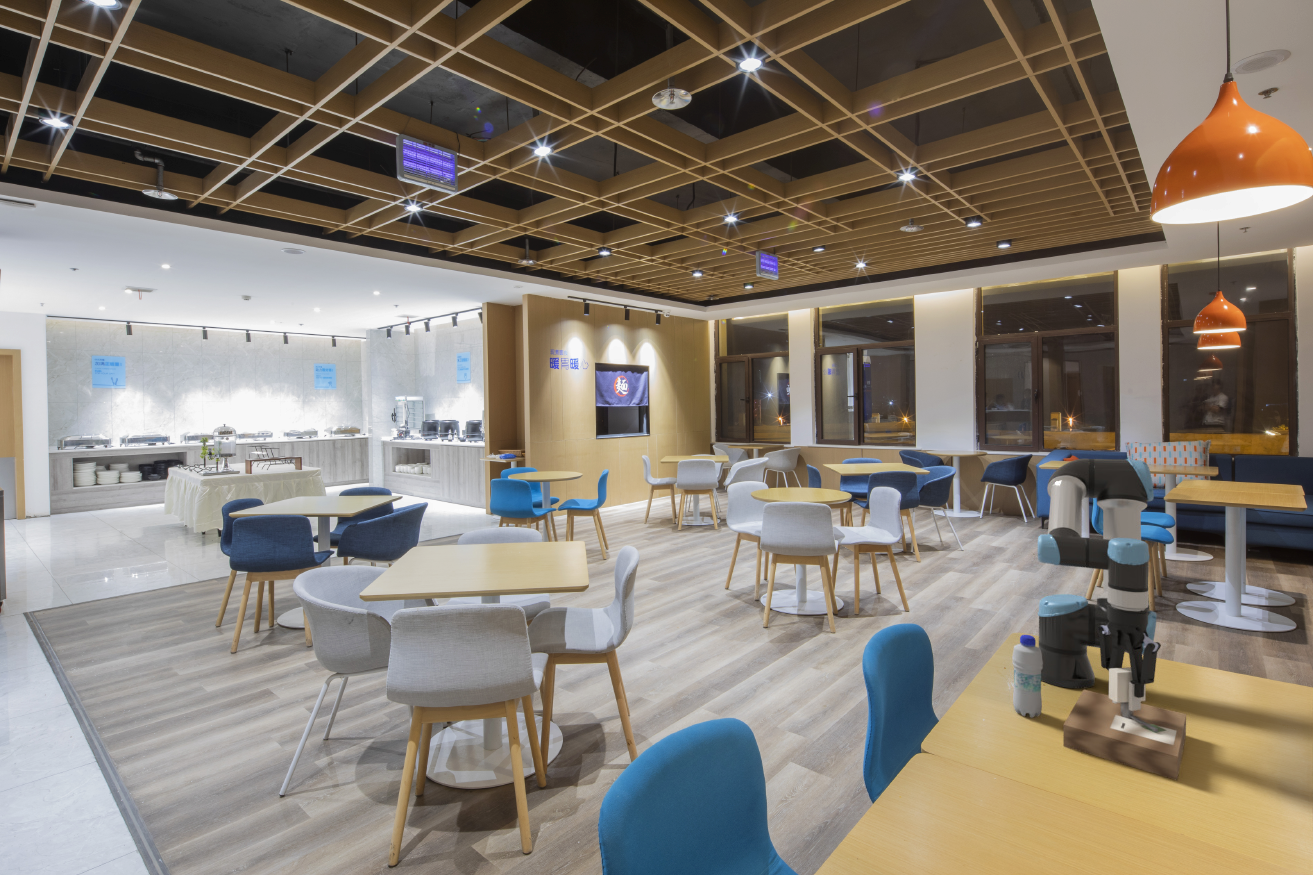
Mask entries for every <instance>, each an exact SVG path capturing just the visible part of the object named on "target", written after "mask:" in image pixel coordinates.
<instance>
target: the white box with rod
mask: <svg viewBox="0 0 1313 875" xmlns="http://www.w3.org/2000/svg"><path fill="white" fill-rule="evenodd" d="M1130 681H1132V673H1131V666H1129V667H1122V668H1111V669H1109V671H1108V695H1109V698H1110V699H1112V700H1113V701H1115V702H1117V703H1120V702H1121V707H1120V714H1121V715H1122V716H1124V717H1127V718H1132V719H1134V720H1136V721H1137V722H1139V723H1141V724H1143V725H1144V726H1146V727H1148V728H1150V729H1151V730H1153V731H1155V732H1157V731H1158V729H1157V728H1155V727H1153V726H1151V725H1150V724H1148V723H1146V722H1144V721H1143V720H1141V719H1139V718H1137V717H1136V716H1134V715H1133V711H1131V710H1129V682H1130ZM1146 685H1147V684H1144V696H1143V697H1141V702H1146V689H1147V688H1146Z"/></svg>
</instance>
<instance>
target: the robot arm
mask: <svg viewBox="0 0 1313 875" xmlns="http://www.w3.org/2000/svg"><path fill="white" fill-rule="evenodd" d="M1153 488H1154V485H1153V479H1152V474H1151V470H1150V467H1149V465H1148V464H1147V462H1145V461H1144V460H1137V459H1128V458H1124V459H1114V458H1113V459H1111V458H1110V459H1109V458H1108V459H1106V458H1105V459H1104V458H1103V459H1102V458H1078V459H1074V460H1072V461H1069V462H1067V463H1064V464H1063V465H1061V466H1060V467H1059V468H1057V469H1056V470H1055V471H1054V472H1053V473H1052V474H1051V476H1050V477H1049V479H1048V481H1047V488H1046V489H1047V494H1048V496H1049V498H1050V500H1049V501H1050V504H1049V516H1048V527H1047V528H1048V529H1047V534H1043V533H1042V534H1040V535H1039V536H1038V537H1037V560H1038V561H1039V562H1040V563H1043V564H1048V565H1049V564H1050V565H1054V566H1065V567H1075V568H1087V569H1095V570H1103V571H1102V572H1103V573H1102V574H1103V592H1102V593H1101V594H1100V595H1099V596H1097V597H1096V604H1094V603H1089V601H1088V599H1087V598H1086V597H1085V596H1082V595H1078V594H1066V593H1062V594H1060V593H1059V594H1050V595H1047V596H1044V597H1042V598H1041V599H1040V600H1039V603H1038V604H1039V605H1038V612H1037V615H1038V646H1037V647H1038V648H1039V649H1040V650H1041V654H1042V661H1043V665H1042V667H1043V668H1042V670H1041V682H1044V683H1046V684H1050V685H1054V686H1056V687H1062V688H1069V689H1089V688H1091V687H1093V686H1094V685H1095V682H1096V681H1095V673H1094V670H1093V666H1092V665H1091V662H1090V659H1089V657H1088V647H1093V648H1098V649H1099V653H1100V654H1099V655H1100V665H1101V668H1102V669H1106V670H1107V671H1108V672H1109V669H1111V668H1123V663H1124V658H1125V653H1127V654H1128V658H1129V664H1130V665H1129V667H1131V673H1132V681H1130V682H1129V710H1131V711H1134V710H1139V709H1141V704H1142V701H1141V697H1143V696H1144V684H1146V685H1147V684H1153V683H1154V682H1155V676H1156V668H1157V667H1156V666H1157V658H1158V652H1159V650H1161V647H1162V645H1161V642H1158V641H1156V642H1155V641H1154V639H1155V634H1156V629H1157V628H1156V627H1157V617H1158V615H1157V613H1156V611H1153V610H1150V603H1149V570H1150V569H1149V568H1150V567H1149V566H1150V564H1149V563H1150V558H1151V557H1150V550H1149V544H1148V542H1146V541H1144V540H1142V527H1141V526H1142V524H1141V522H1142V521H1141V520H1142V519H1141V518H1142V517H1141V513H1142V511H1144V510H1145V509H1146V508H1147V507H1148V502H1152V501H1153V500H1154V498H1155V496H1154V492H1155V491H1154V489H1153ZM1085 498H1087V499H1096V504H1097V506H1098V507H1099V508H1100V509H1101V510H1102V511H1103V512H1102V513H1103V518H1102V519H1103V520H1102V522H1103V523H1102V524H1103V526H1102V528H1103V529H1102V530H1103V533H1102V534H1103V538H1093V537H1082V536H1083V534H1082V530H1083V529H1082V528H1083V527H1082V526H1083V500H1084V499H1085ZM1112 702H1113V703H1115V704H1117V702H1115V701H1112ZM1120 703H1121V702H1120Z"/></svg>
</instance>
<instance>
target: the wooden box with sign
mask: <svg viewBox="0 0 1313 875" xmlns="http://www.w3.org/2000/svg"><path fill="white" fill-rule="evenodd" d="M1112 701H1113V700H1112V699H1110V698H1109V694H1105V693H1104V694H1103V693H1100V692H1095V691H1091V690H1086V689H1083V690H1082V691H1081V693H1080V695H1079V697H1078V699H1077V700H1076V701H1075V703H1074V706H1073V708H1071V711H1070V713H1069V714H1068V716H1067V718H1066V719H1065V721H1064V723H1063V741H1062V742H1063V747H1065V748H1069V749H1072V750H1074V751H1078V752H1081V753H1085V754H1088V755H1091V756H1095V757H1098V758H1102V759H1105V760H1109V761H1112V762H1115V763H1118V764H1122V765H1125V766H1128V767H1131V768H1134V769H1138V770H1141V771H1144V772H1147V773H1148V772H1149V773H1151V774H1155V775H1158V776H1162V777H1164V778H1169V779H1172V780H1174V781H1178V780H1179V773H1180V768H1181V764H1182V757H1183V753H1184V747H1185V742H1186V738H1187V737H1186V736H1187V714H1186V713H1182V712H1178V711H1173V710H1170V709H1165V708H1162V707H1158V706H1153V705H1149V704H1145V703H1141V709H1139V710H1134V711H1133V715H1134V716H1136V717H1137V718H1139V719H1141V720H1143V721H1144V722H1146V723H1148V724H1150V725H1151V726H1153V727H1155V728H1157V729H1158V731H1157V732H1155V731H1153V730H1151V729H1150V728H1148V727H1146V726H1144V725H1143V724H1141V723H1139V722H1137V721H1136V720H1134V719H1132V718H1127V717H1124V716H1122V715H1121V714H1120V707H1121V703H1117V704H1115V703H1113V702H1112Z"/></svg>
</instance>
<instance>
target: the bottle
mask: <svg viewBox="0 0 1313 875" xmlns="http://www.w3.org/2000/svg"><path fill="white" fill-rule="evenodd" d="M1036 640H1037V639H1036V638H1035V637H1034V636H1033V635H1030V634H1022V635H1020V638H1019V643H1018V644H1015V645H1014V646H1013V651H1012V657H1011V659H1012V665H1013V695H1012V704H1013V708H1014V711H1015V713H1017V714H1021V716H1022V717H1026V714H1028V715H1029V717H1030V718H1034V717H1040V715H1041V713H1042V709H1043V704H1042V703H1043V700H1042V680H1041V670H1042V668H1043V667H1042V665H1043V661H1042V654H1041V650H1040V649H1039V648H1038V647H1039V646H1036V642H1037V641H1036Z"/></svg>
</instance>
